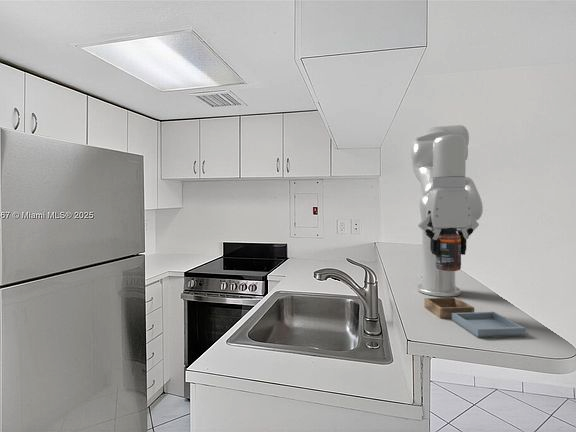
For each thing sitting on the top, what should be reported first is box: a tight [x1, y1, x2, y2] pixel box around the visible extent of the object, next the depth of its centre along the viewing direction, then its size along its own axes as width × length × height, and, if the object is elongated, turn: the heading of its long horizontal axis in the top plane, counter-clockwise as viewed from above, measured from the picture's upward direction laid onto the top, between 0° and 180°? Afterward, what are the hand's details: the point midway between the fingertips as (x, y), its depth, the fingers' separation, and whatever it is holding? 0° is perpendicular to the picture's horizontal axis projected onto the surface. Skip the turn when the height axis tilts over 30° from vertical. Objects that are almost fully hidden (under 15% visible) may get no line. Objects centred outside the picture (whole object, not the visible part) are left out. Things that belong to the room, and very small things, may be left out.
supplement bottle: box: [436, 228, 462, 272], centre depth 86 cm, size 6×6×11 cm
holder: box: [423, 296, 475, 319], centre depth 86 cm, size 9×9×2 cm
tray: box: [451, 311, 527, 339], centre depth 75 cm, size 10×10×2 cm
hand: (448, 253), depth 86 cm, fingers closed on supplement bottle, 6 cm apart
